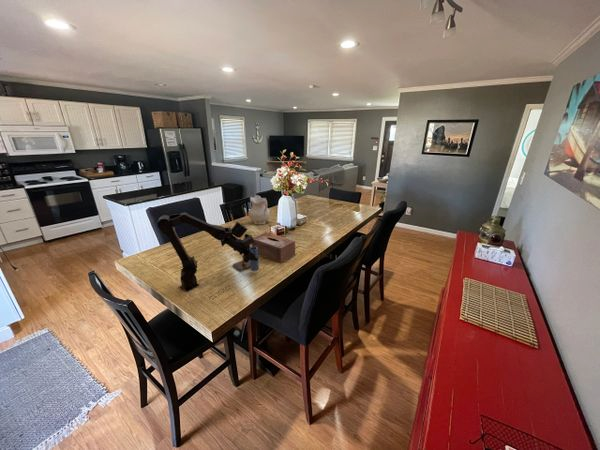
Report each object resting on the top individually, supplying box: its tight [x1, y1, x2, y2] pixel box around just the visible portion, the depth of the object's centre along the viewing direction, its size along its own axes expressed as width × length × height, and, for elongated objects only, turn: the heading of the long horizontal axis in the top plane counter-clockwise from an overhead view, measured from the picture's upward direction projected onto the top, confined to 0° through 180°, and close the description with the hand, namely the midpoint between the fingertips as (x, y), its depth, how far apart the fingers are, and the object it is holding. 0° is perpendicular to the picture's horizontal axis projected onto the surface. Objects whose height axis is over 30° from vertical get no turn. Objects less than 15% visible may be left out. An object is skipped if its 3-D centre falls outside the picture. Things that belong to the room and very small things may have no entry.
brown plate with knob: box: [232, 258, 251, 272], centre depth 144 cm, size 10×9×4 cm
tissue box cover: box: [251, 231, 296, 264], centre depth 159 cm, size 26×14×10 cm, turn 54°
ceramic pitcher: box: [247, 194, 271, 225], centre depth 215 cm, size 22×20×25 cm
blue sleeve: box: [249, 246, 260, 272], centre depth 134 cm, size 5×5×13 cm
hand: (256, 258), depth 135 cm, fingers closed on blue sleeve, 5 cm apart
